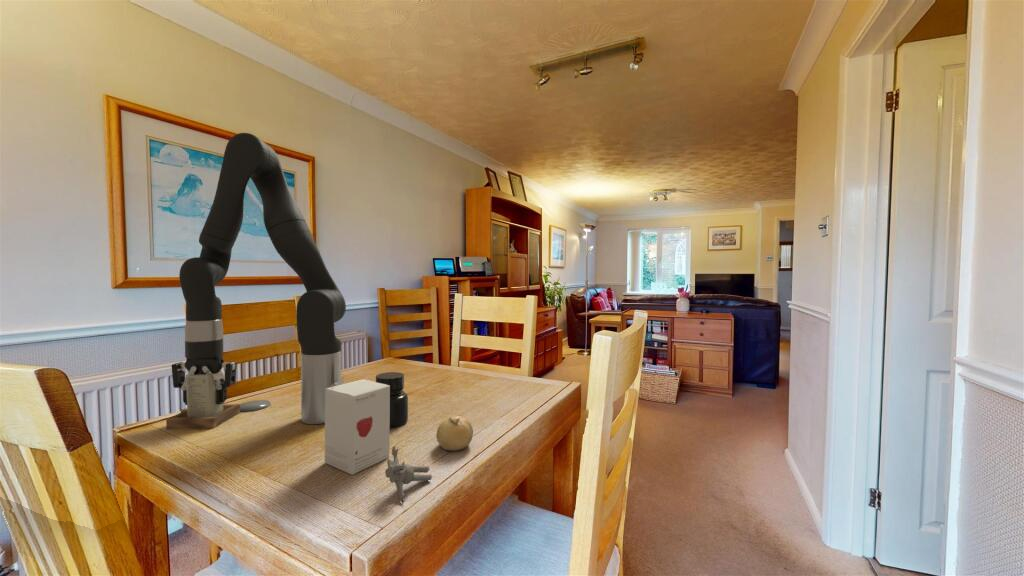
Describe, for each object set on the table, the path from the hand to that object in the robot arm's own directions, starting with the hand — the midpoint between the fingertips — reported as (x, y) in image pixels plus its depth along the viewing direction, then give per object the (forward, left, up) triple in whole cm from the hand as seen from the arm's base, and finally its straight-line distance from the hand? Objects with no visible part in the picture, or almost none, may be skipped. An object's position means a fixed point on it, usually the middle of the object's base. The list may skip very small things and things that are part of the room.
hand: (205, 403), depth 97 cm
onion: (-63, +19, -5) cm, 66 cm away
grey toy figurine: (-55, +35, -5) cm, 65 cm away
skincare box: (0, 0, -5) cm, 5 cm away
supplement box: (-44, +24, -5) cm, 50 cm away
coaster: (-6, -10, -4) cm, 12 cm away
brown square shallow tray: (0, 0, -4) cm, 4 cm away
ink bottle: (-46, +4, -5) cm, 46 cm away
